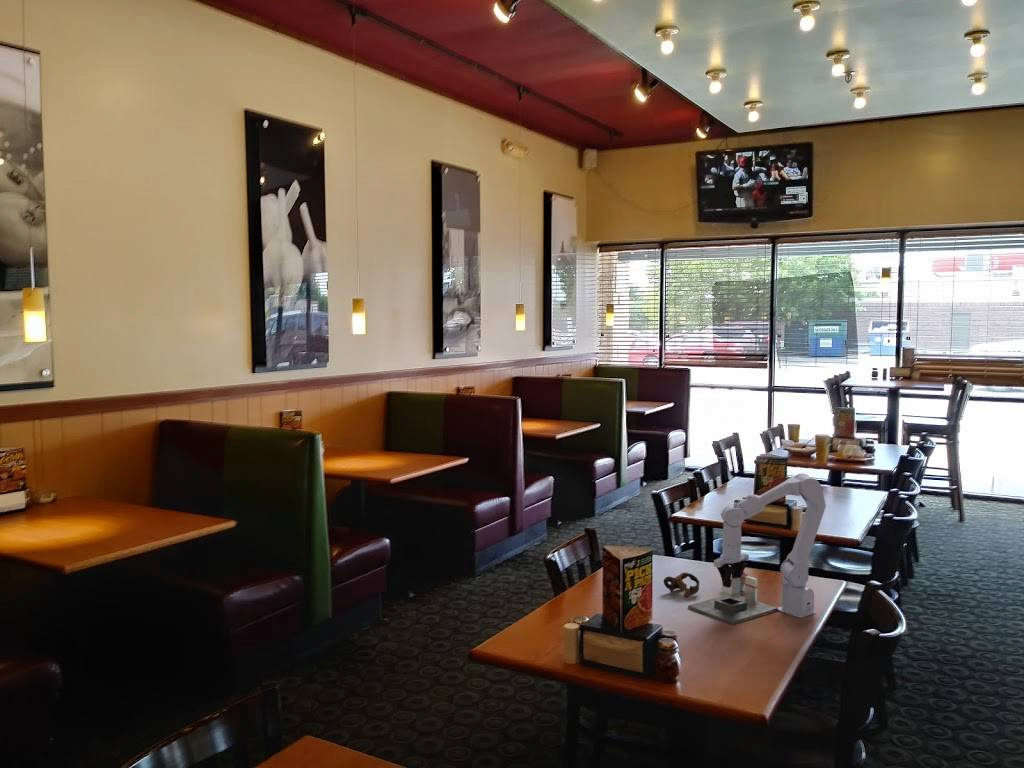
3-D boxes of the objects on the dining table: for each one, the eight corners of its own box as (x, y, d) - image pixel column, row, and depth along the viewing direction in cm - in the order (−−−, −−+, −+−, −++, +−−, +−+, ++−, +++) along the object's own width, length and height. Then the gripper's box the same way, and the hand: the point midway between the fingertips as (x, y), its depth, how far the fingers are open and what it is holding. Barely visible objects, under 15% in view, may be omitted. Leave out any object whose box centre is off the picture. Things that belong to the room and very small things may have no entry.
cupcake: (722, 592, 283) (722, 558, 282) (723, 585, 291) (724, 552, 290) (748, 595, 280) (748, 560, 279) (748, 587, 288) (749, 554, 287)
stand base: (777, 611, 264) (778, 583, 263) (732, 624, 251) (732, 596, 251) (733, 596, 279) (733, 570, 278) (688, 608, 266) (688, 581, 266)
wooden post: (740, 596, 264) (740, 577, 263) (731, 598, 261) (732, 579, 261) (730, 593, 267) (730, 574, 267) (721, 595, 265) (721, 576, 264)
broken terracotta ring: (691, 590, 287) (699, 573, 283) (694, 609, 279) (703, 592, 275) (658, 581, 286) (666, 564, 282) (660, 601, 278) (669, 584, 274)
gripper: (736, 538, 270) (736, 578, 271) (706, 544, 262) (706, 586, 263) (754, 542, 265) (753, 583, 266) (724, 549, 256) (723, 591, 257)
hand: (731, 585), depth 264 cm, fingers closed on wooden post, 4 cm apart
